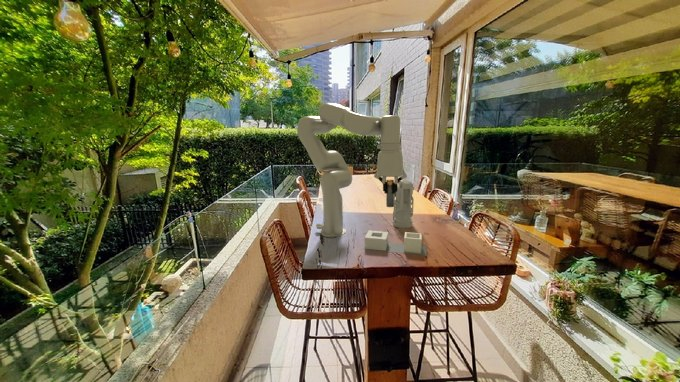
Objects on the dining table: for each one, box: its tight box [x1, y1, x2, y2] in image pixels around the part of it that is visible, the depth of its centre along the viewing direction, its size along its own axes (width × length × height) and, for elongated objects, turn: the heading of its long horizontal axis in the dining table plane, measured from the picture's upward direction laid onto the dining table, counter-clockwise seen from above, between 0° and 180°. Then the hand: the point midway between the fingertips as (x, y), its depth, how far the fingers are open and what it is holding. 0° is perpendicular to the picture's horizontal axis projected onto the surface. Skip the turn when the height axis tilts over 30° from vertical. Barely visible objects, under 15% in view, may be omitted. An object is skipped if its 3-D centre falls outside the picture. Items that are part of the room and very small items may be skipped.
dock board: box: [361, 229, 427, 259], centre depth 113 cm, size 26×10×7 cm, turn 74°
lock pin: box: [385, 179, 395, 208], centre depth 109 cm, size 3×3×11 cm
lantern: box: [392, 180, 415, 229], centre depth 140 cm, size 13×10×25 cm
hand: (390, 192), depth 109 cm, fingers closed on lock pin, 3 cm apart
